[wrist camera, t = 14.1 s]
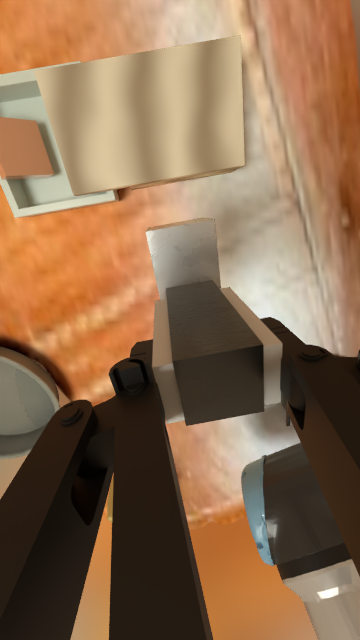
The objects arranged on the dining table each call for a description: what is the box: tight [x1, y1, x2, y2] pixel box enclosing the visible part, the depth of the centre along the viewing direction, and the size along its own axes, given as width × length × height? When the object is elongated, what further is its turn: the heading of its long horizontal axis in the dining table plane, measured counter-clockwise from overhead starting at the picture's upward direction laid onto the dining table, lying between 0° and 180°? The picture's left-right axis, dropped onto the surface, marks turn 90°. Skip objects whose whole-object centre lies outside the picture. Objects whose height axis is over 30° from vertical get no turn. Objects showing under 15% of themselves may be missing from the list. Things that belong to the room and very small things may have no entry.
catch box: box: [0, 61, 120, 218], centre depth 26 cm, size 12×12×4 cm
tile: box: [0, 117, 54, 180], centre depth 25 cm, size 5×5×2 cm
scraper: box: [146, 218, 264, 426], centre depth 14 cm, size 4×10×12 cm, turn 9°
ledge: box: [34, 35, 245, 196], centre depth 26 cm, size 19×10×6 cm, turn 99°
